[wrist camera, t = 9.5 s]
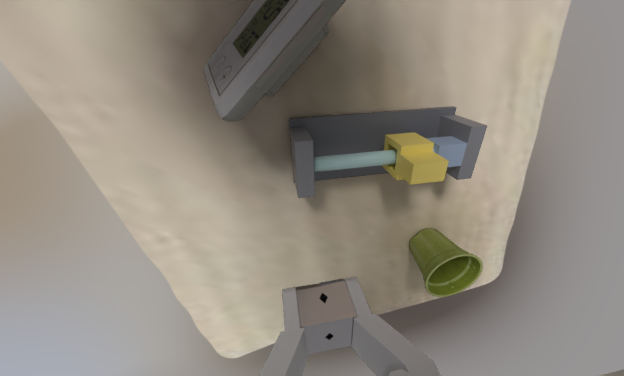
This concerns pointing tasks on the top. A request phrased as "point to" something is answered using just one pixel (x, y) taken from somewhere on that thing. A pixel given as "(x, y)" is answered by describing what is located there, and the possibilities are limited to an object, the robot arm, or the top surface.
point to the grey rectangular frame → (377, 143)
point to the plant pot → (444, 263)
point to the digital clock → (265, 51)
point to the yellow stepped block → (414, 159)
